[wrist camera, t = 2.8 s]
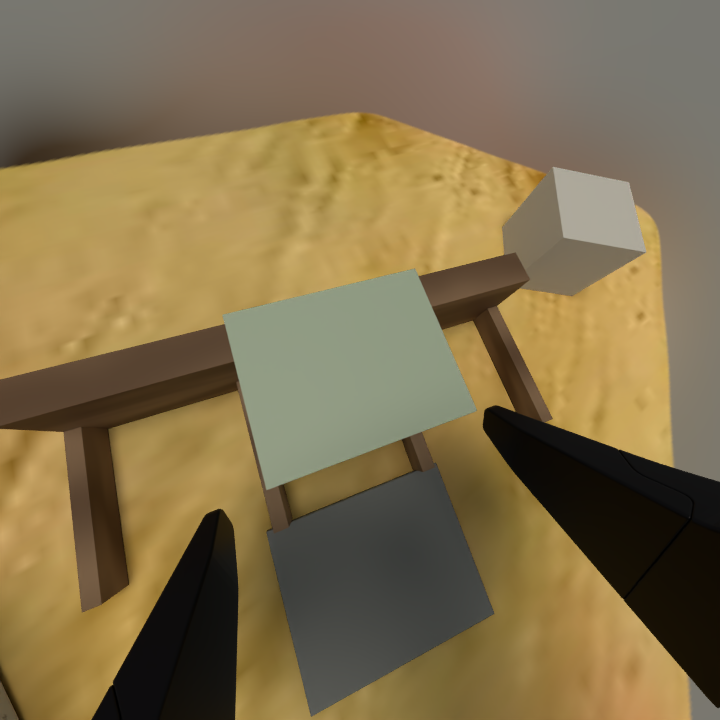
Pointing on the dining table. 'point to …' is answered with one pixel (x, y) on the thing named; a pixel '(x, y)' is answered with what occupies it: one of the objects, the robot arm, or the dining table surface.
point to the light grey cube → (573, 231)
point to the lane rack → (207, 380)
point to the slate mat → (375, 583)
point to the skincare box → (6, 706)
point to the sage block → (343, 373)
